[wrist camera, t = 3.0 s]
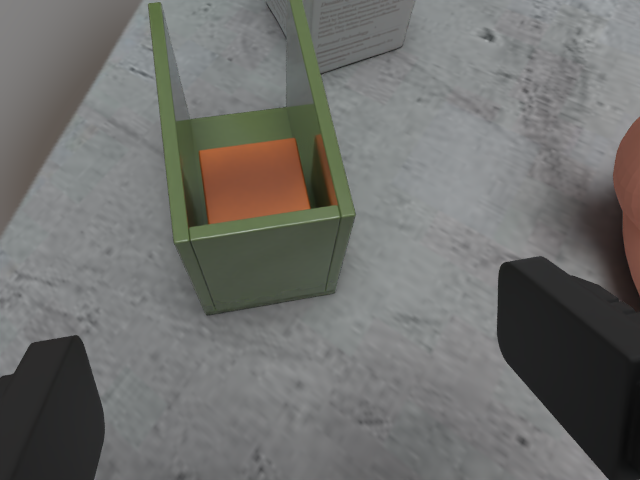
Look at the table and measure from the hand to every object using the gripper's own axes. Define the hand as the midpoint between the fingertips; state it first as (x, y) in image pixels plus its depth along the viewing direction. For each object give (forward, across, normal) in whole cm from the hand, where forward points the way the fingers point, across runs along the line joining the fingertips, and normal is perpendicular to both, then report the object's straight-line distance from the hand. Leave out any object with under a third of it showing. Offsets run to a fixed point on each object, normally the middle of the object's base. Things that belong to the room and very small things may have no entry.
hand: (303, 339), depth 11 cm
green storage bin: (+17, 0, +2) cm, 17 cm away
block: (+15, 0, +3) cm, 15 cm away
